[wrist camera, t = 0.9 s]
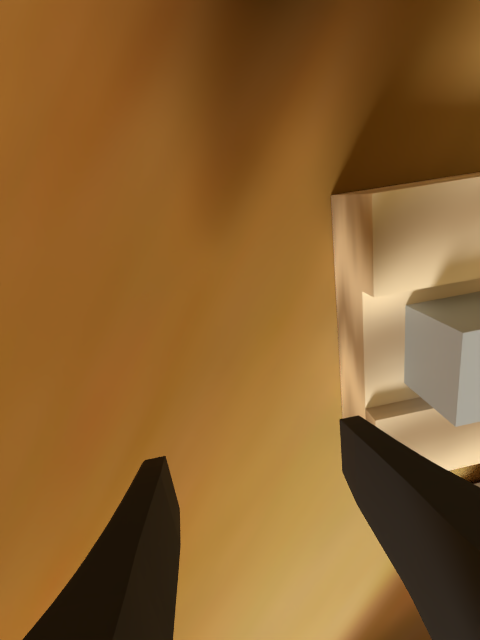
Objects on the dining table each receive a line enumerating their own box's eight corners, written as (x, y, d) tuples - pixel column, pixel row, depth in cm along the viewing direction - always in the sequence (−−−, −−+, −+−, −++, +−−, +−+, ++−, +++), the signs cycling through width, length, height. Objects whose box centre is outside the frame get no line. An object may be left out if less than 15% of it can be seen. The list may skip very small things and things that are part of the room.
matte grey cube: (480, 367, 17) (548, 406, 14) (403, 383, 17) (455, 426, 14) (488, 289, 16) (566, 312, 13) (405, 304, 16) (462, 333, 12)
